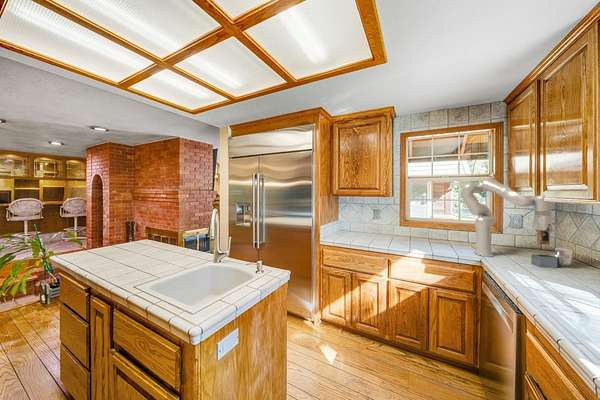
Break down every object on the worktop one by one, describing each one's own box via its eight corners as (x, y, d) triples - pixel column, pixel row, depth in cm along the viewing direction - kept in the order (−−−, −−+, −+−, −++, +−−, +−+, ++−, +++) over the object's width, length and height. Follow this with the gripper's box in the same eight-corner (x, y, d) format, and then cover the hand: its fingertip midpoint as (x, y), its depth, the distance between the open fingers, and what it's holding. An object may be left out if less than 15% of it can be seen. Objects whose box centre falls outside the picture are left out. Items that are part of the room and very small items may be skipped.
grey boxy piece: (530, 263, 158) (530, 248, 158) (561, 264, 154) (561, 248, 154) (540, 267, 150) (540, 251, 149) (574, 269, 145) (574, 252, 145)
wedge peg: (537, 243, 155) (536, 229, 155) (546, 243, 154) (545, 229, 154) (540, 244, 152) (540, 229, 152) (549, 244, 151) (549, 229, 151)
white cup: (561, 264, 154) (561, 250, 153) (551, 261, 161) (551, 247, 161) (576, 265, 152) (576, 250, 152) (565, 261, 160) (565, 248, 159)
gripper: (526, 212, 161) (527, 238, 162) (545, 214, 145) (546, 242, 146) (539, 212, 160) (540, 238, 160) (560, 214, 144) (560, 243, 144)
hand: (543, 240), depth 153 cm, fingers closed on wedge peg, 3 cm apart
